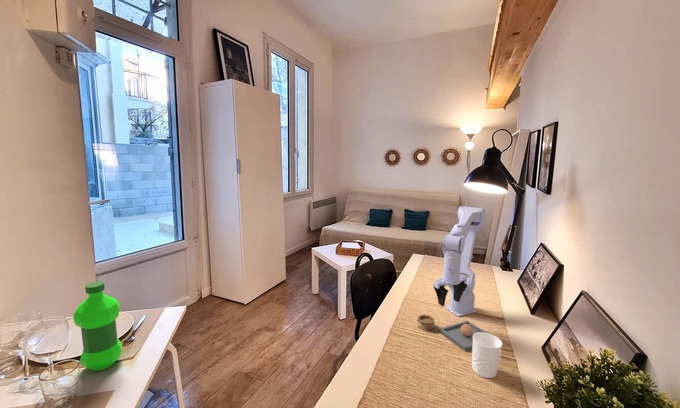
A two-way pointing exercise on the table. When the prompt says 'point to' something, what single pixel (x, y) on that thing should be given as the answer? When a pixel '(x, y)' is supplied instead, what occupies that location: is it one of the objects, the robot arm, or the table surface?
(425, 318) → the egg cup
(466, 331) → the ball
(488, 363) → the white cup
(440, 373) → the table surface
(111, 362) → the plastic bottle
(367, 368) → the table surface
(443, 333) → the tray
